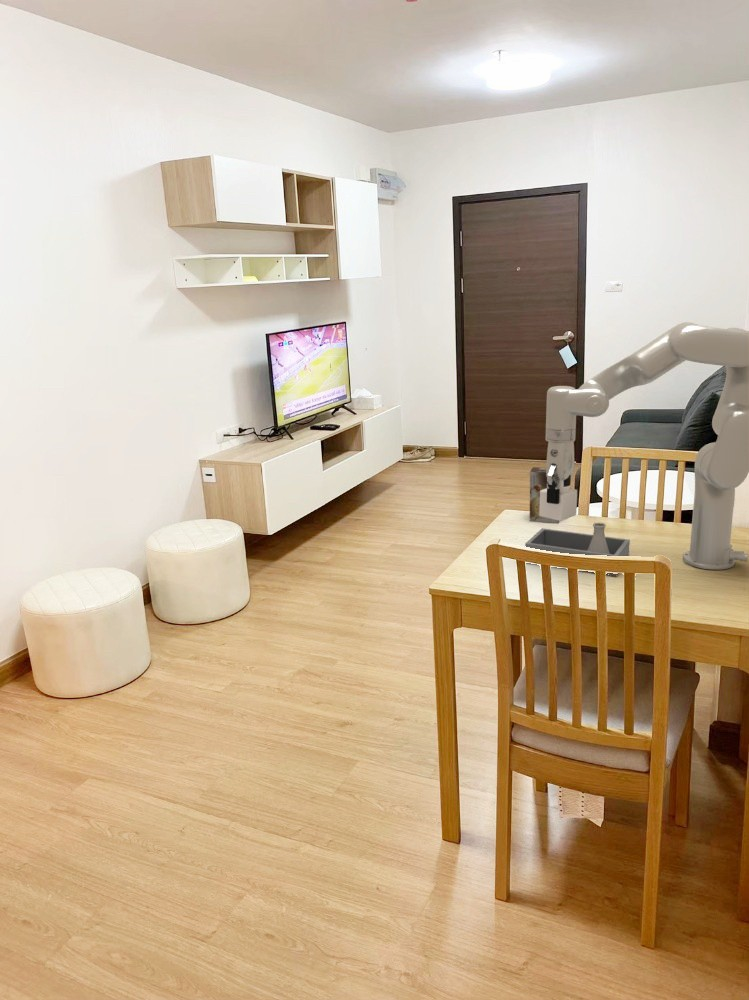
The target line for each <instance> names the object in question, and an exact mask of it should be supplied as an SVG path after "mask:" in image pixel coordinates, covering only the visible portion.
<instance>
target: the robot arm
mask: <svg viewBox="0 0 749 1000" xmlns="http://www.w3.org/2000/svg"><path fill="white" fill-rule="evenodd" d="M685 361H689V362H692V363H699V364H704V365H705V364H706V365H714V366H723V367H725V371H726V372H725V375H726V376H725V381H724V385H723V389H722V392H721V395H720V397H719V400H718V403H717V406H716V409H715V411H714V414H713V416H712V422H711V426H712V429H713V432H714V433H715V434H716V435H717V439H716V441H714V442H710V443H708V444H704V446H702V447H701V448H700V449H699V451H698V452H697V454H696V457H695V460H694V493H693V495H694V497H693V507H692V508H693V509H692V519H691V520H692V521H691V531H690V533H691V534H690V544H689V550H687V551H685V552H684V553H683V555H682V561H683V562H684V563H685V564H687V565H689V566H691V567H694V568H699V569H705V570H714V571H715V570H716V571H717V570H719V571H720V570H727V569H730V568H732V567H734V566H735V564H736V563H735V562H736V561H740V562H748V561H749V560H748V558H749V554H748V553H745V552H744V551H743V550H742V551H741V550H735V549H733V544H731V538H732V536H731V535H732V527H733V518H734V517H733V516H734V508H735V500H736V499H735V496H736V488H738V487H739V486H740V485H742V483H744V481H745V480H746V479H747V476H748V475H749V330H746V329H743V328H739V327H728V328H718V327H712V326H711V327H710V326H706V325H699V324H696V323H694V322H690V321H689V322H688V321H686V322H681V323H678V324H677V325H675V326H673V327H671V328H670V329H668V330H667V331H665V332H663V333H662V334H661V335H659V336H658V337H656V338H655V339H653V340H652V341H650V342H649V343H647V344H646V345H644V346H642V347H641V348H640V349H638V350H636V351H635V352H633V353H632V354H630V355H628V356H626V357H624V358H622V359H621V360H620V361H618V362H615V363H614V364H613V365H610V366H609V367H607V368H605V369H604V370H602V371H601V372H599V373H597V374H596V375H594V376H593V377H591V378H590V379H589V380H587V381H586V382H584V383H582V384H581V385H580V386H579V388H577V389H576V388H575V387H573V386H569V385H557V386H556V385H555V386H551V387H550V388H548V390H547V392H546V413H545V415H546V416H545V418H546V419H545V441H546V442H548V444H547V449H546V450H547V453H546V467H545V468H546V476H547V503H552V504H559V496H560V489H558V488H559V483H560V479H562V480H565V479H567V478H568V477H569V475H571V476H572V475H573V474H574V472H575V444H574V443H575V441H576V431H577V430H576V429H577V427H576V426H577V416H580V417H586V418H597V417H598V418H599V417H600V416H602V415H604V414H606V412H607V411H608V409H609V406H610V400H611V399H613V398H614V397H616V396H618V395H619V394H621V393H623V392H625V391H628V390H630V389H633V388H636V387H640V386H646V385H647V384H648V385H649V384H651V383H653V382H654V381H656V380H658V379H659V378H661V377H662V376H664V375H665V374H667V373H668V372H669V371H671V370H673V369H675V367H676V368H677V366H679V365H681V364H683V362H684V363H685ZM554 476H558V477H554ZM553 480H554V481H553ZM555 481H556V483H555Z"/></svg>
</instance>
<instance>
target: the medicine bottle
mask: <svg viewBox="0 0 749 1000" xmlns="http://www.w3.org/2000/svg"><path fill="white" fill-rule="evenodd" d="M554 477H558V476H554ZM571 478H572V475H569V477H568V478H567V479H565V480H562V479H560V483H559V488H558V489H560V496H559V504H552V503H547V488H546V489H544V490H541V491H540V505H539V516H542V517H546V518H550V519H555V520H559V522H562V521H565V520H567V519H570V518H572V517H575V516H577V510H578V509H577V507H578V506H577V505H578V489H576V488H575V489H574V488H571V483H572V481H571ZM553 481H554V480H553ZM555 483H556V481H555Z"/></svg>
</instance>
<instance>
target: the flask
mask: <svg viewBox="0 0 749 1000" xmlns="http://www.w3.org/2000/svg"><path fill="white" fill-rule="evenodd" d="M592 527H593V534H592V535H593V537H592V540H591V543H590V545H589V548H588V550H587V551H591V552H598V553H605V554H610V552H609V549H608V546H607V543H606V540H605V537H606V535H605V528H606V523H603V522H594V523H593V524H592Z"/></svg>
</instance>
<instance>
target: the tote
mask: <svg viewBox="0 0 749 1000" xmlns="http://www.w3.org/2000/svg"><path fill="white" fill-rule="evenodd" d="M592 537H593V534H588V533H581V532H573V531H566V530H558V529H550V528H544V527H542V528H541V529H539V530H538V532H536V533H535V534H534V535H533V536H532V537H531V538H530V539H529V540H528V541H526V542H525V543H524V547H525V546H526V547H530V548H535V549H540V550H546V551H552V552H560V553H569V554H585V555H607V556H629V557H630V544H631V541H630V539H626V538H619V537H613V536H612V537H611V536H605V540H606V543H607V546H608V549H609V552H610V554H605V553H598V552H591V551H587V550H588V548H589V545H590V543H591V540H592ZM580 572H581V573H589V574H595V573H594V572H588V571H580ZM608 574H609V575H608ZM595 575H596V574H595ZM610 575H611V576H610ZM616 575H617V576H618V575H619V574H613V573H607V574H606V575H605V576H606V577H607V576H608V577H613V576H614V577H615V578H617V576H616ZM614 577H613V578H614Z"/></svg>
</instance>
